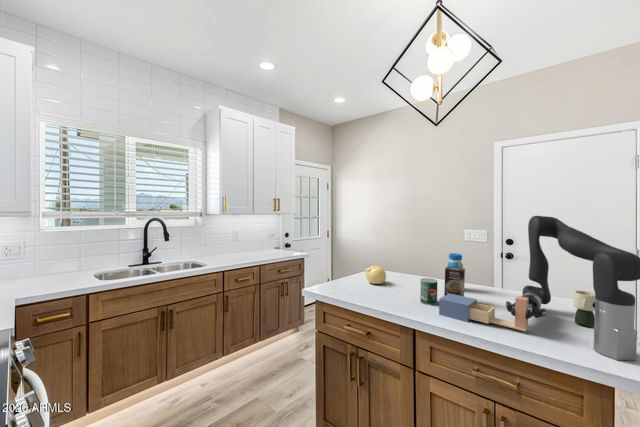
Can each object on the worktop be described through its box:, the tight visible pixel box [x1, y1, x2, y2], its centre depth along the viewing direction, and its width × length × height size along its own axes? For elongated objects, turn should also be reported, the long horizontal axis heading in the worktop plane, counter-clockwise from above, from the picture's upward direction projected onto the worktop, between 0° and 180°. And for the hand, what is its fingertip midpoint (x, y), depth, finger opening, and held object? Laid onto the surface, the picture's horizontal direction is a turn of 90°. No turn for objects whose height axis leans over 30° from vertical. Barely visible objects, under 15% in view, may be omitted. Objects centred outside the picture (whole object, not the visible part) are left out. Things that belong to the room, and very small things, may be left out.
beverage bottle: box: [446, 252, 464, 269], centre depth 169 cm, size 8×8×20 cm
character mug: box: [573, 290, 595, 328], centre depth 120 cm, size 11×7×13 cm, turn 135°
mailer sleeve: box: [438, 293, 478, 323], centre depth 131 cm, size 12×11×7 cm
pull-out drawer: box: [469, 295, 529, 332], centre depth 121 cm, size 23×9×12 cm, turn 46°
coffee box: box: [443, 266, 466, 297], centre depth 150 cm, size 9×6×16 cm
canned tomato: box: [419, 277, 439, 306], centre depth 147 cm, size 8×8×11 cm
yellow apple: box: [364, 265, 387, 285], centre depth 182 cm, size 11×12×11 cm
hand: (520, 314), depth 112 cm, fingers closed on pull-out drawer, 3 cm apart
